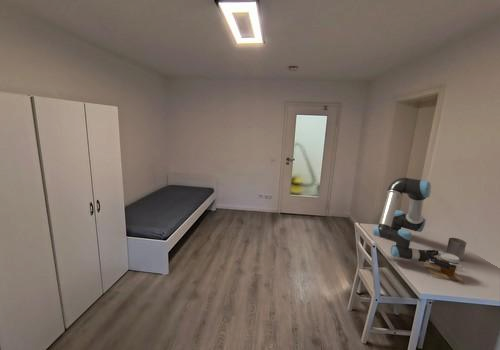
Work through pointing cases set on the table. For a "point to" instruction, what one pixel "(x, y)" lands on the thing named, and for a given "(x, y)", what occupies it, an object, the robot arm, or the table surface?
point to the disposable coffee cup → (449, 259)
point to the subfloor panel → (437, 273)
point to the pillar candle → (456, 247)
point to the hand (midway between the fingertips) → (455, 261)
